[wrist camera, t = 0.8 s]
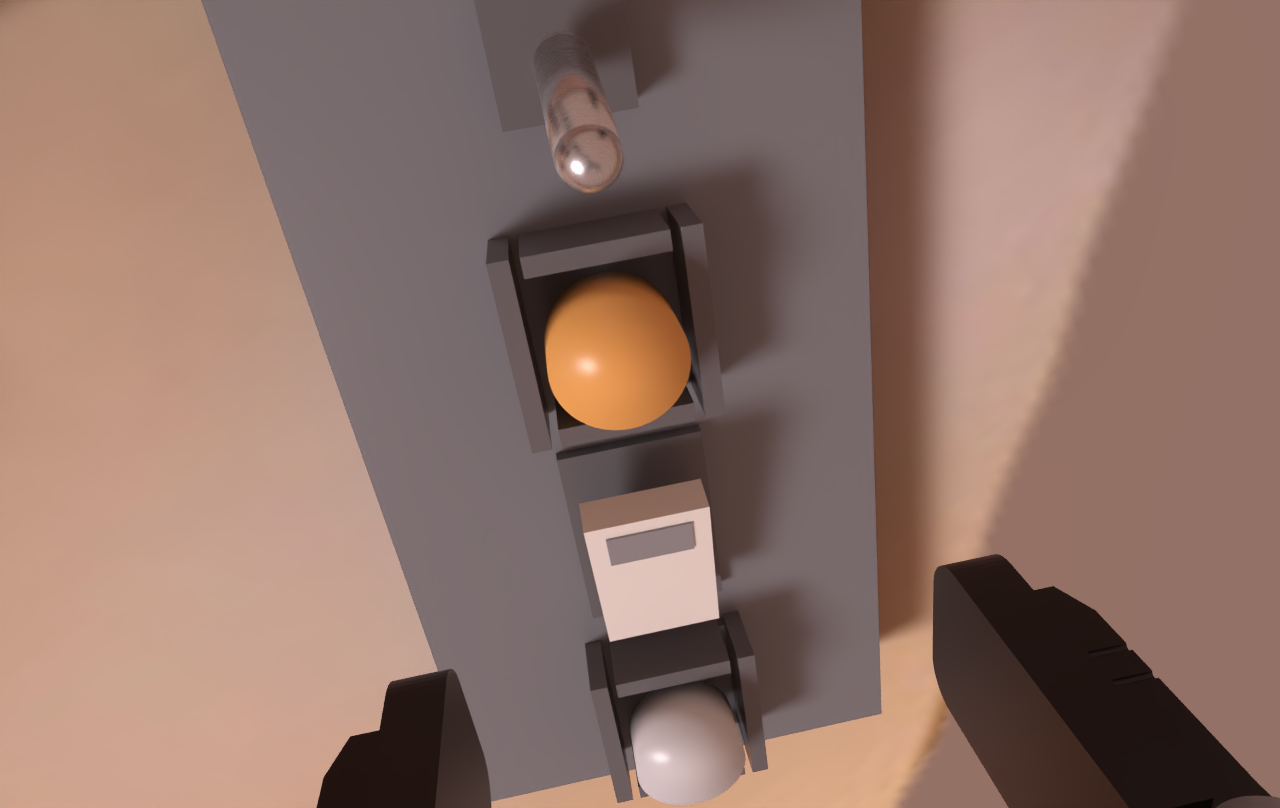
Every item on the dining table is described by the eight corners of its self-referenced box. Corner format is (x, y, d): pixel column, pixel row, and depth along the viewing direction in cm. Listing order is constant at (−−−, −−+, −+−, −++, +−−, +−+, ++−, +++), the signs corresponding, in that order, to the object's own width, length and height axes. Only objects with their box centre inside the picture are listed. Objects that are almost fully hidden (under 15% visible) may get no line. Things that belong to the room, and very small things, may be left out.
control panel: (208, -102, 19) (118, -128, 15) (808, -200, 20) (894, -253, 16) (486, 733, 32) (482, 856, 27) (850, 653, 32) (905, 760, 28)
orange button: (531, 286, 20) (533, 313, 18) (667, 260, 20) (681, 284, 18) (558, 408, 21) (562, 442, 19) (684, 382, 21) (698, 414, 20)
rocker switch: (578, 503, 22) (583, 535, 21) (700, 478, 22) (710, 508, 21) (604, 612, 25) (610, 644, 24) (711, 589, 25) (720, 619, 24)
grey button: (621, 693, 25) (629, 740, 24) (725, 670, 26) (739, 716, 24) (637, 765, 27) (646, 815, 25) (736, 743, 27) (750, 791, 26)
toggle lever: (524, 26, 17) (551, 150, 14) (584, 16, 17) (625, 136, 14) (535, 84, 18) (564, 213, 14) (592, 73, 18) (632, 199, 14)
